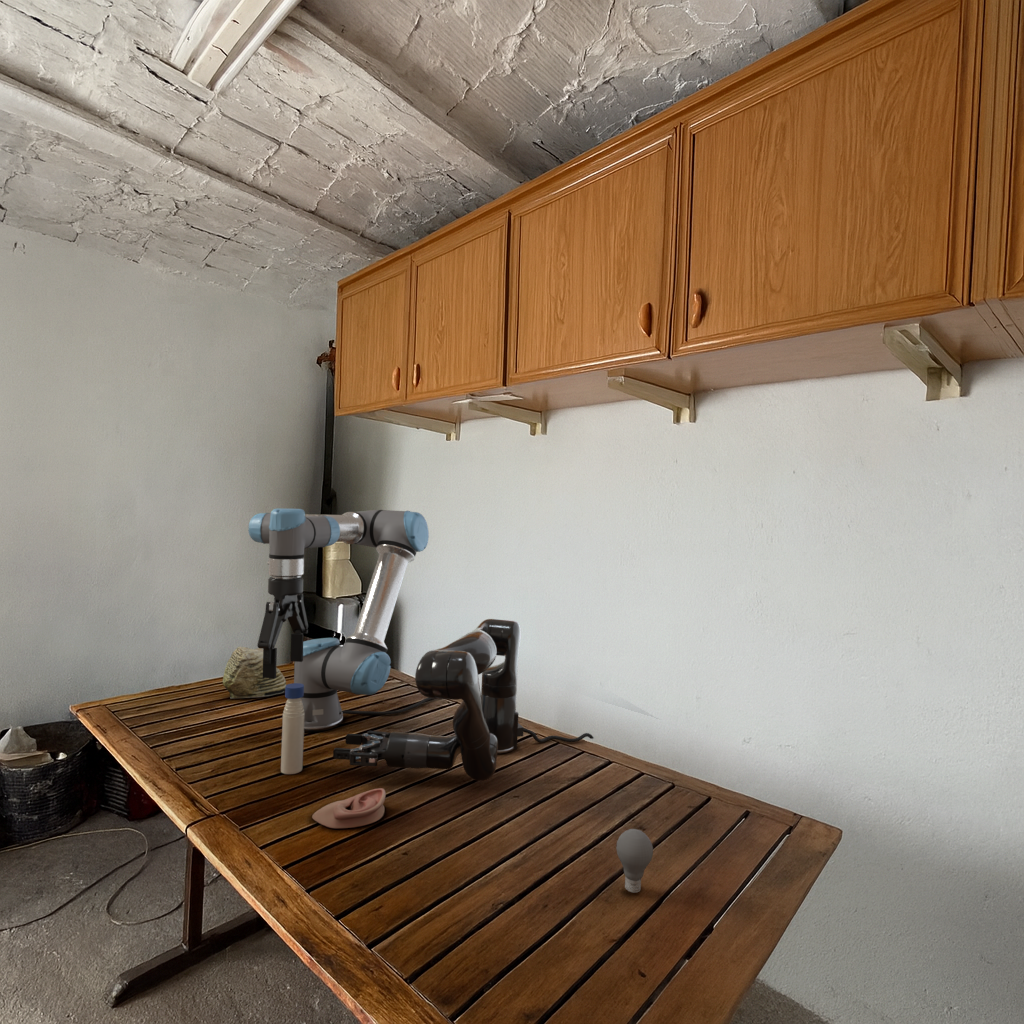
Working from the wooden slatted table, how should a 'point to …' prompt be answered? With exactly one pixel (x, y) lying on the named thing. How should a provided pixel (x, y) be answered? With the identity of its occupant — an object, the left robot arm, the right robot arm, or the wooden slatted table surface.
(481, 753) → the right robot arm
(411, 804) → the wooden slatted table surface
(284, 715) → the bottle
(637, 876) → the light bulb
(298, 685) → the cap
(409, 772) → the wooden slatted table surface
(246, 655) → the fossil
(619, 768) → the wooden slatted table surface
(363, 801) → the anatomical model
